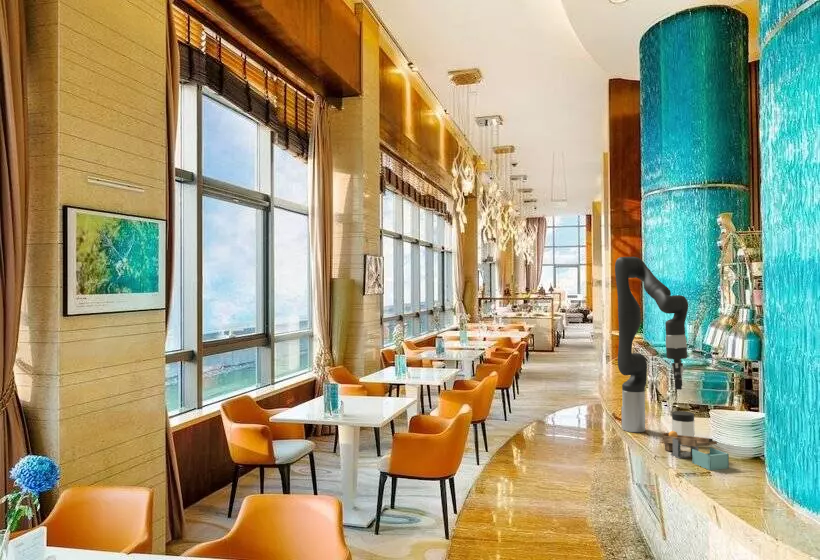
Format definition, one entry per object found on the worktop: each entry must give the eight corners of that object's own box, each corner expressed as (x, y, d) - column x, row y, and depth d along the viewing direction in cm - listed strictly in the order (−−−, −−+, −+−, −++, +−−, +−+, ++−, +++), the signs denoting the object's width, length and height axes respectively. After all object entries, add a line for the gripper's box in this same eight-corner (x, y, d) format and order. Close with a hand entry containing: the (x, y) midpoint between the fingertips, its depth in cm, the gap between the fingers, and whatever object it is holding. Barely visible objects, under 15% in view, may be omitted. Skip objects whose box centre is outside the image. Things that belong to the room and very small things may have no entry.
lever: (664, 450, 236) (662, 433, 237) (686, 448, 238) (684, 431, 239) (696, 455, 218) (694, 436, 219) (720, 452, 221) (717, 434, 222)
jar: (690, 440, 250) (689, 410, 250) (699, 445, 242) (698, 415, 241) (667, 440, 250) (667, 411, 250) (676, 446, 242) (676, 415, 242)
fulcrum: (670, 455, 230) (670, 437, 230) (691, 452, 232) (691, 435, 232) (679, 458, 225) (679, 441, 225) (700, 456, 227) (700, 439, 227)
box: (692, 463, 219) (692, 449, 219) (710, 461, 221) (710, 447, 221) (709, 470, 211) (709, 455, 211) (728, 468, 213) (728, 453, 213)
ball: (668, 440, 235) (665, 432, 237) (675, 439, 236) (672, 431, 237) (673, 438, 232) (670, 430, 234) (680, 438, 233) (678, 429, 235)
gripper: (666, 345, 249) (669, 385, 248) (664, 347, 236) (667, 390, 235) (687, 344, 246) (689, 385, 245) (686, 347, 233) (689, 390, 232)
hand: (678, 387), depth 240 cm, fingers open, 8 cm apart
